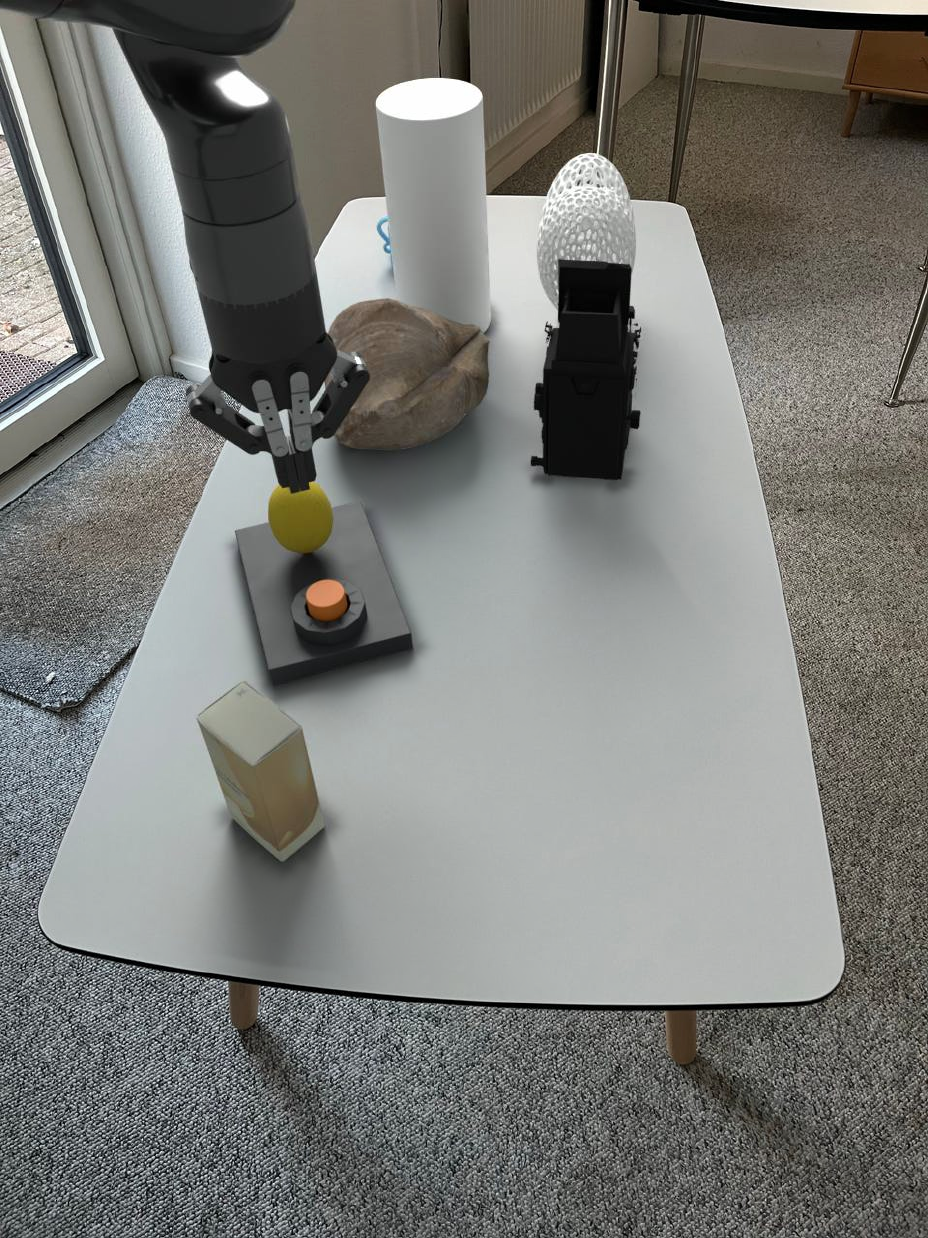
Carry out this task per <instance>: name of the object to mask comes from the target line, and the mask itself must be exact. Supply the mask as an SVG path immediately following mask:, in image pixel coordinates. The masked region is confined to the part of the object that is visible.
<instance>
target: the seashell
mask: <svg viewBox="0 0 928 1238" xmlns="http://www.w3.org/2000/svg"><path fill="white" fill-rule="evenodd" d="M327 333H328V334H329V336H330V337H331V338H332V340H333V342H334V345H335V347H336V349H337V350H339V351H342V352H344V353H346V354H349V353H351V352H358V353H360V354H361V356H362V358H363V360H364V362H365V364H366V366H367V369H368V372H369V374H370V380H369V381H368V383H367V385H366V386H365V388H364V389H363V391H362V392H361V394H360V396H359V397H358V399H357V400H356V402H355V403H354V405H353V406H352V408H351V410H350V411H349V413H348V414H347V416H346V417H345V419H344V420H343V422H342V424H341V425H340V427H339V428H338V430H337V431H336V433H335V434H334V437H335V439H336V441H337V442H338V443H341V444H343V445H345V446H346V447H348V448H351V449H356V450H375V451H378V450H379V451H395V450H405V449H410V448H415V447H419V446H422V445H426V444H427V443H430V442H433V441H435V440H437V439H438V438H441V437H442V436H444V435H446V434H447V433H449V432H450V431H451V430H452V429H454V428H455V427H456V426H457V425H458V424H459V423H460V422H461V421H462V420H463V419H464V418H465V416H466V415H468V414H469V413H472V412H473V411H474V410H475V409H476V408H478V407H479V406H481V405H480V404H481V403H482V402H483V401H484V399H485V398H486V395H487V393H488V390H489V383H490V369H489V347H490V339H489V338H488V337H486V335H485V334H484V333H483V332H482V331H481V330H480V327H479V326H476V325H473V324H469V325H464V324H460V323H458V322H454V321H451V320H449V319H446V318H444V317H442V316H439V315H437V314H436V313H433V312H431V311H429V310H426V309H423V308H418V307H412V306H409V305H407V304H404V303H402V302H400V301H397V299H394V298H389V297H387V298H385V297H384V298H378V299H377V298H376V299H370V300H363V301H359V302H356V303H353V304H351V305H350V306H348V307H346V308H345V309H342V311H340V312H339V313H338V314H337V315H336V317H335V319H334V320H333V321H332V323H331V325H330V326H329V328H328V332H327ZM331 370H332V369H331ZM331 380H332V376H331V371H330V372H329V374H328V376H327V378H326V379H325V381H324V383H323V384H324V388H325V389H324V391H325V390H326V388H327V386H328V385H329V383H330V382H331Z"/></svg>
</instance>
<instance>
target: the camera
mask: <svg viewBox="0 0 928 1238" xmlns="http://www.w3.org/2000/svg"><path fill="white" fill-rule="evenodd" d="M631 274H633V272H632V268H631V266H630V264H621V263H620V262H619V263H609V262H605V261H596V260H595V261H580V260H574V259H573V260H569V259H568V260H562V259H558V310H557V322H558V327H553V326H554V325H552V322H551V323H549V321H546V322H545V325H544V326H545V327H544V332H545V333H546V334H547V335H546V338H545V344H547V346H546V352H545V359H544V365H543V368H542V382H536V383H535V387H534V398H533V410H534V411H538V417H539V419H541V424H542V428H541V443H542V457H538V456H537V455H531V456H530V467H542V468H543V469H542V470H543V472H544V475H547V476H548V477H549V476H550V477H562V478H563V477H564V478H577V479H592V480H605V481H618V480H619V481H622V480H623V473H624V467H625V466H624V465H625V457H626V451H627V449H628V446H629V439H630V431H631V430H639V428H640V424H641V423H640V421H641V410H639V409H635V408H636V407H633V396H634V398H636V397H637V393H635V394H634V395H633V390H634V388H635V386H637V384H638V378H637V377H636V375H637V370H638V365H636V364H637V359H638V357H639V351H638V349H639V348H640V341H639V339H641V337H642V335H641V334H642V326H639V323H637V322H636V323H634V324H632V323H633V320H635V318H636V309H635V306H634V305H631V293H632V292H631V291H632V290H631V289H632V275H631ZM632 326H635V327H639V329H634V331H633V332H632ZM547 328H548V330H547ZM635 348H636V350H634V349H635ZM635 365H636V366H635ZM635 384H636V385H635ZM633 408H634V409H633Z"/></svg>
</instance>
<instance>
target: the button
mask: <svg viewBox="0 0 928 1238" xmlns="http://www.w3.org/2000/svg"><path fill="white" fill-rule="evenodd" d="M306 600H307V604H308V609H309V612H310V614H311V616H312V617H313V618H315V619H316V620H319V621H332V620H335V619H338V618H339V617H341V616H342V615H343V614H344V613H345V611H346V609H347V601H346V595H345V590H344V587H343V586H342V585H341V584H340V583H339V582H337V581H334V580H322V581H318V582H316V583H314V584H313V585H311V586H310V587H309V589H308V590H307V592H306Z"/></svg>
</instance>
